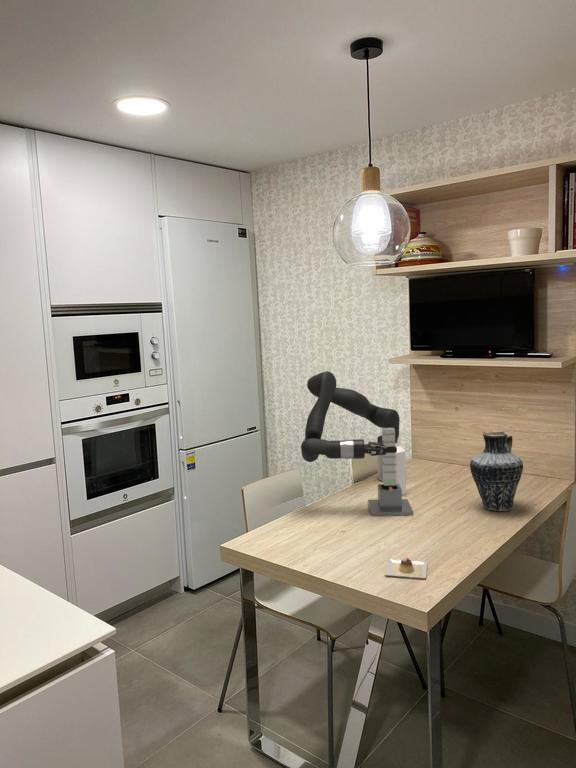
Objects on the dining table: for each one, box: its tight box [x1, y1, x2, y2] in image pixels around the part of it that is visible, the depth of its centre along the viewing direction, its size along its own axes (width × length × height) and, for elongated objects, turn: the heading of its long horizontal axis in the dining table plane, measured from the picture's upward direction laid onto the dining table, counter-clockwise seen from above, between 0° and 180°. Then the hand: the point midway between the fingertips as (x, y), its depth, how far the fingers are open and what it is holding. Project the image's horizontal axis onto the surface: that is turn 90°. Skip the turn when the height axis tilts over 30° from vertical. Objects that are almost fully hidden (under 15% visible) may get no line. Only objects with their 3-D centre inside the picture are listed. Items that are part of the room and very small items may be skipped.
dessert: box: [384, 555, 428, 579], centre depth 185 cm, size 12×12×5 cm
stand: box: [367, 483, 414, 517], centre depth 241 cm, size 16×16×10 cm
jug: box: [469, 430, 524, 512], centre depth 237 cm, size 21×19×30 cm
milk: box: [395, 442, 407, 496], centre depth 260 cm, size 6×6×22 cm
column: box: [381, 428, 396, 486], centre depth 239 cm, size 5×5×22 cm
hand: (395, 448), depth 239 cm, fingers closed on column, 4 cm apart
